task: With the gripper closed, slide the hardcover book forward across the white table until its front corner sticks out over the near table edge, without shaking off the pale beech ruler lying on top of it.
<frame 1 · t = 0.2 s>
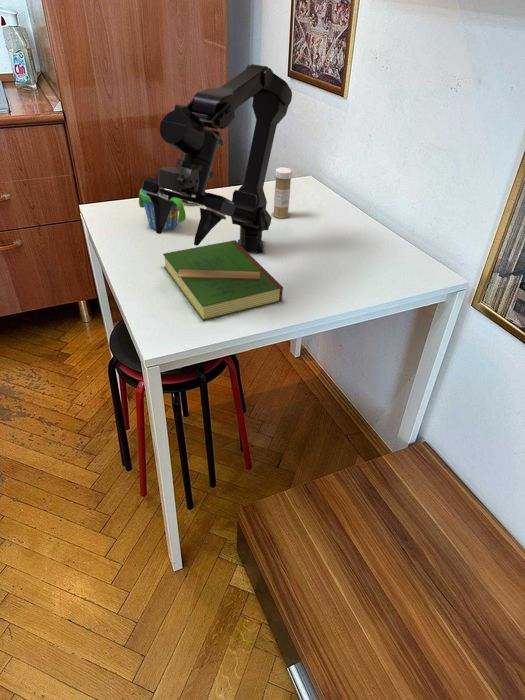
hand: (176, 239, 101), 15 cm above the table, tool tilted 30°, fingers open, 9 cm apart
hardcover book: (219, 283, 117), on the table, touching ruler
ruler: (219, 275, 112), point 4 cm above the table, touching hardcover book
snack cup: (163, 226, 139), on the table
sprinkles bottle: (280, 216, 149), on the table
green spice jar: (190, 203, 153), on the table
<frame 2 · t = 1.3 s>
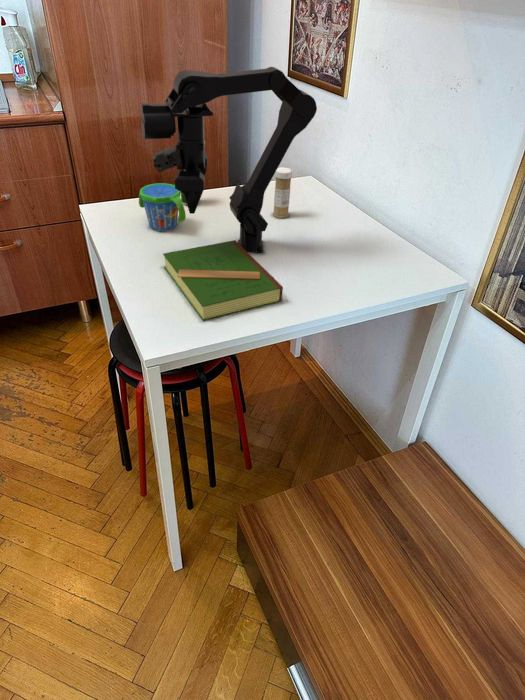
hand: (193, 205, 120), 12 cm above the table, tool pointing down, fingers open, 8 cm apart
nothing on the table moved.
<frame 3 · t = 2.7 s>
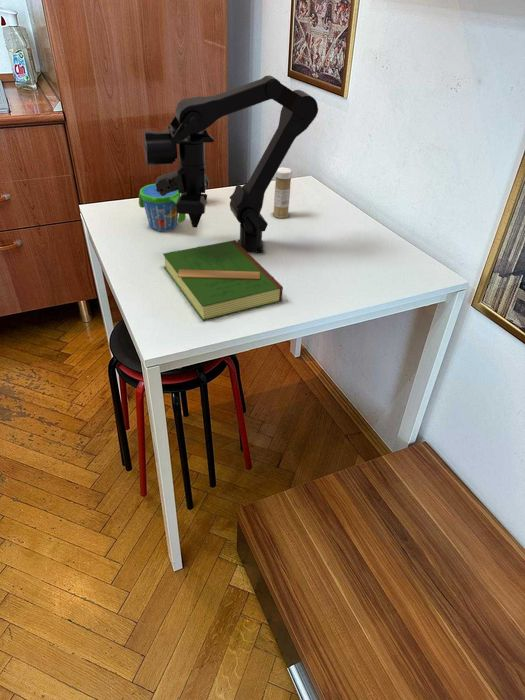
hand: (194, 226, 123), 7 cm above the table, tool pointing down, fingers closed
nothing on the table moved.
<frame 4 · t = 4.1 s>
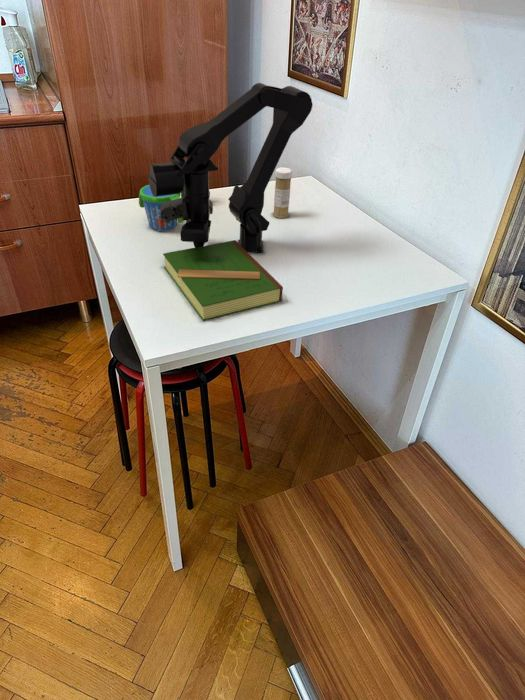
hand: (198, 252, 125), 1 cm above the table, tool pointing down, fingers closed
hardcover book: (219, 283, 117), on the table, touching gripper, ruler
everything else where it was.
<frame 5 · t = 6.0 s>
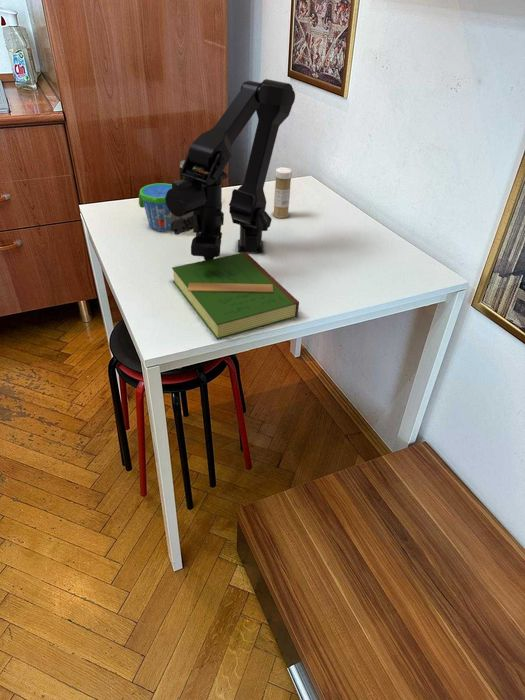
hand: (208, 264, 120), 1 cm above the table, tool pointing down, fingers closed
hardcover book: (232, 298, 112), on the table, touching gripper, ruler
ruler: (230, 288, 108), point 4 cm above the table, touching hardcover book
everything else where it was.
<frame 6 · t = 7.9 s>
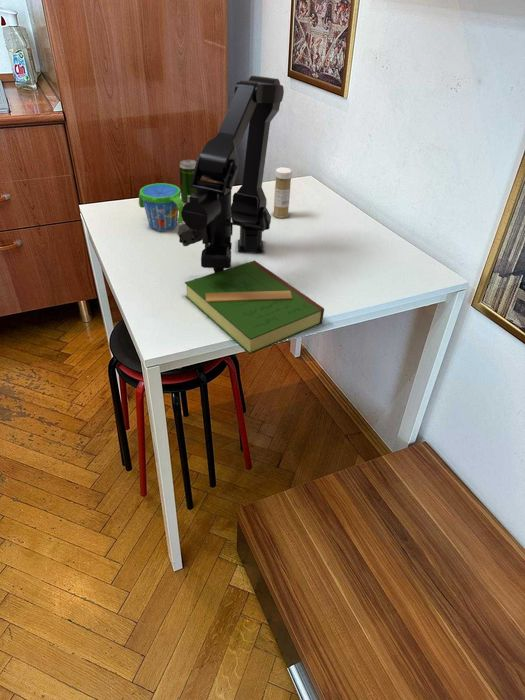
hand: (218, 276, 117), 1 cm above the table, tool pointing down, fingers closed
hardcover book: (251, 309, 109), on the table, touching gripper, ruler
ruler: (248, 297, 106), point 4 cm above the table, touching hardcover book
everything else where it was.
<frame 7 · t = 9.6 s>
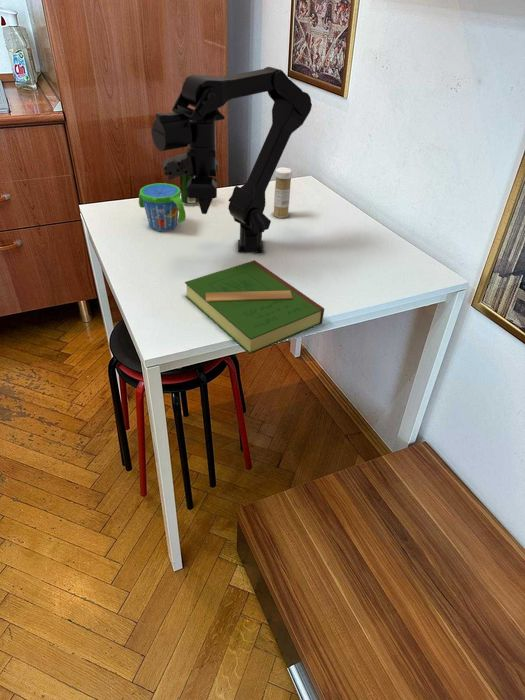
hand: (204, 213, 117), 12 cm above the table, tool pointing down, fingers closed
hardcover book: (251, 309, 109), on the table, touching ruler
everything else where it was.
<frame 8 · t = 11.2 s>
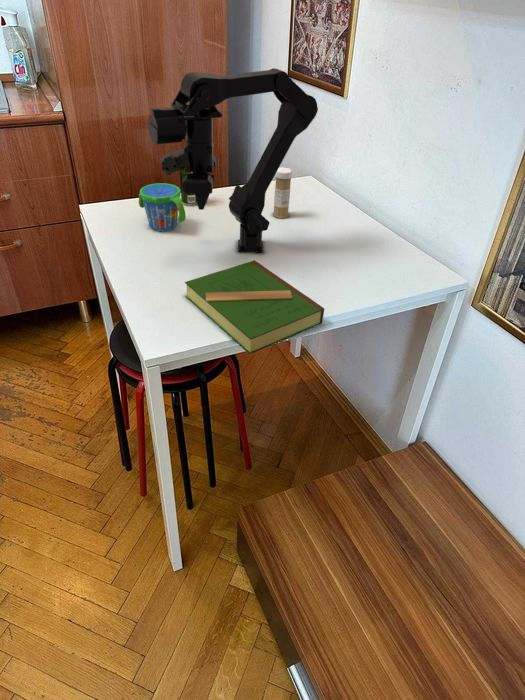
hand: (201, 209, 118), 13 cm above the table, tool pointing down, fingers closed
nothing on the table moved.
at the end: hardcover book inside the target area (3.9 cm from its centre), on the table; ruler inside the target area on the hardcover book (1.3 cm from its centre), point 4.0 cm above the hardcover book's base; hardcover book tilted 0° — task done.
